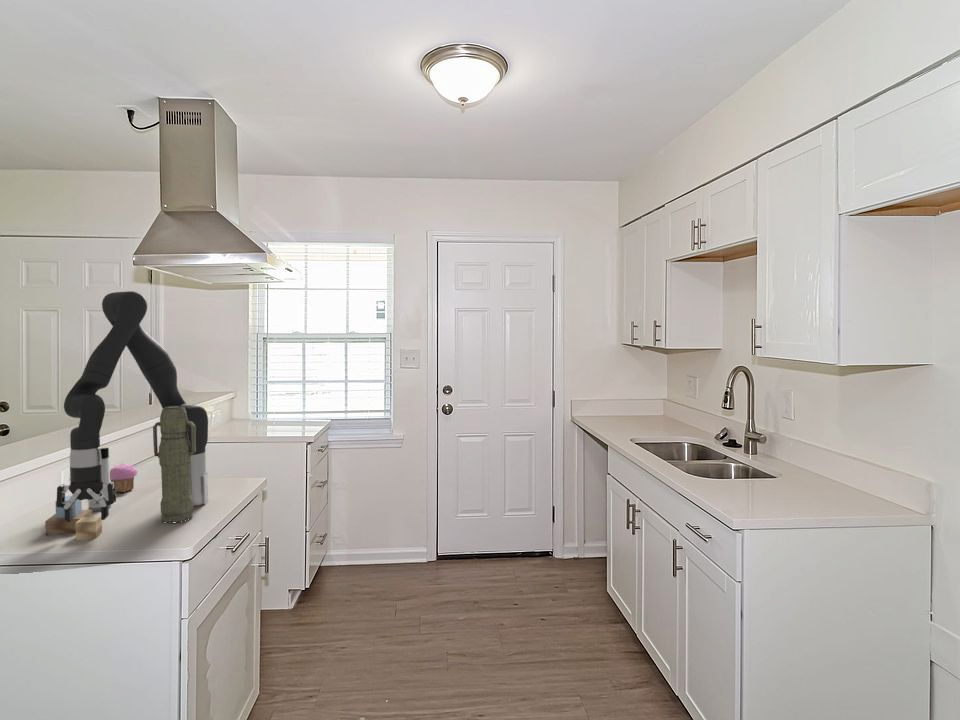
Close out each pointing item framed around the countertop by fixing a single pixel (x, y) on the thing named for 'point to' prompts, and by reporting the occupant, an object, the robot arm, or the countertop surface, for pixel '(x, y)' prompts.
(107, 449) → the travel mug
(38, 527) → the countertop surface
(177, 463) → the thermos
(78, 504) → the slate block
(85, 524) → the oak block
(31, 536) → the countertop surface
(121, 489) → the cupcake
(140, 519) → the countertop surface
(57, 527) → the walnut plinth
